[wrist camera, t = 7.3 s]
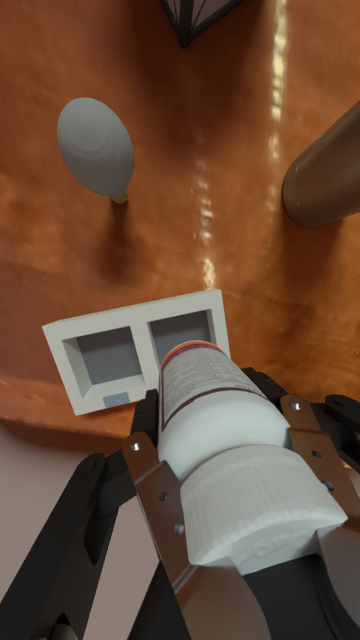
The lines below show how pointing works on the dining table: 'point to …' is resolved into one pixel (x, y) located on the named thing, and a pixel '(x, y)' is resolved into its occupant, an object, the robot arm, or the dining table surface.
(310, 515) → the pill bottle
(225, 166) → the dining table surface
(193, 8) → the lantern
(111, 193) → the light bulb
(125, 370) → the socket block
